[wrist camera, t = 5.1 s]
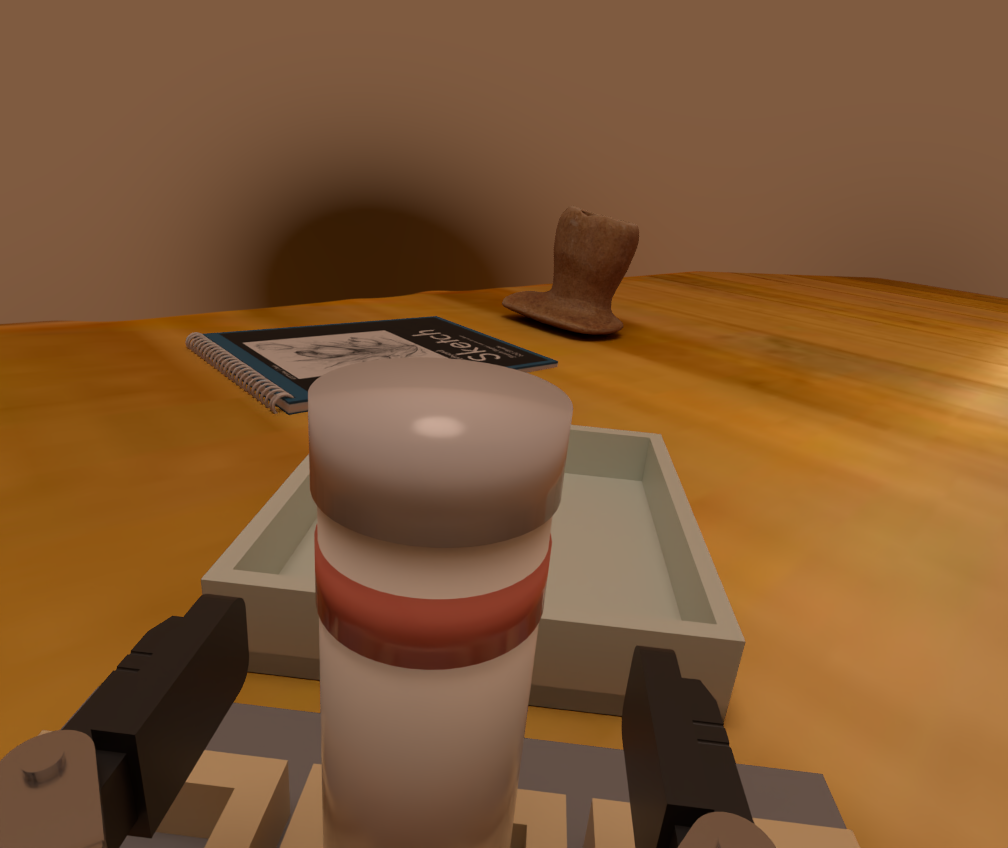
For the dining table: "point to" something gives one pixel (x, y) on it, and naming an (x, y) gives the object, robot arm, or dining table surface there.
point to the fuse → (429, 592)
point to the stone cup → (582, 274)
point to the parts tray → (570, 584)
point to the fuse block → (538, 811)
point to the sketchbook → (344, 353)
